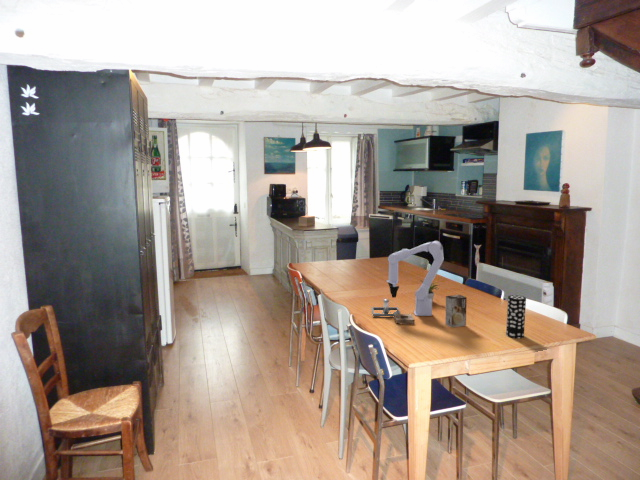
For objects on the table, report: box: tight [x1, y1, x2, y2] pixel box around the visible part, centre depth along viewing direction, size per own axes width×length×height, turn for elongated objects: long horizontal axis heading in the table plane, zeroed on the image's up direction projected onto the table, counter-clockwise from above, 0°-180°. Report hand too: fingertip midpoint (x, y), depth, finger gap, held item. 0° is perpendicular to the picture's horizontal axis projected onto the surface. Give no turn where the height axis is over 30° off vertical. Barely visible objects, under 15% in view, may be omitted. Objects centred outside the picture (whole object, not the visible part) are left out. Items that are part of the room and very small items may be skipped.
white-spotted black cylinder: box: [505, 294, 527, 339], centre depth 233 cm, size 8×8×20 cm
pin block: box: [393, 313, 416, 325], centre depth 258 cm, size 10×10×2 cm
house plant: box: [421, 279, 440, 303], centre depth 296 cm, size 14×14×16 cm
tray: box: [370, 306, 402, 317], centre depth 272 cm, size 16×14×2 cm
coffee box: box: [445, 294, 468, 328], centre depth 250 cm, size 9×6×16 cm
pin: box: [382, 298, 390, 314], centre depth 271 cm, size 4×4×8 cm
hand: (393, 295), depth 277 cm, fingers open, 7 cm apart
